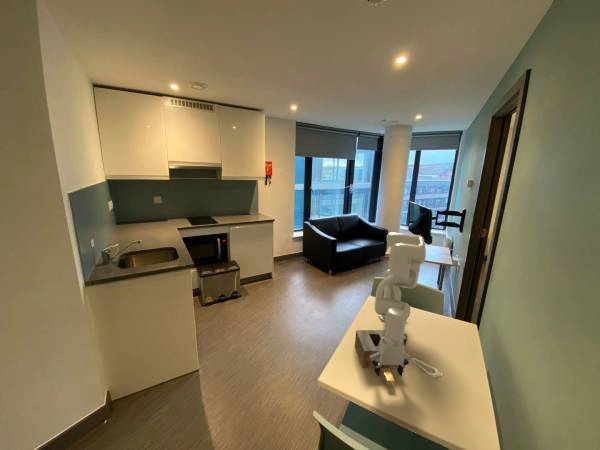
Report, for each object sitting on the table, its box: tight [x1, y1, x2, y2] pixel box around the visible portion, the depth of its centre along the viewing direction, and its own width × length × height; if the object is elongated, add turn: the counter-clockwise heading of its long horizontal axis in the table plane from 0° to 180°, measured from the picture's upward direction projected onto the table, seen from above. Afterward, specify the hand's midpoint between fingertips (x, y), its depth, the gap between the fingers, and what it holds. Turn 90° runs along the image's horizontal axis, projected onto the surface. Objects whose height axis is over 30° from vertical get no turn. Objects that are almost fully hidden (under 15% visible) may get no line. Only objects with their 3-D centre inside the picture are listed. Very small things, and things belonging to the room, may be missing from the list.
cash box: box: [354, 329, 398, 369], centre depth 115 cm, size 16×14×9 cm
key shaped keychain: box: [411, 357, 443, 378], centre depth 109 cm, size 13×5×2 cm, turn 46°
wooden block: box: [380, 368, 395, 388], centre depth 102 cm, size 3×6×4 cm, turn 2°
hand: (388, 373), depth 101 cm, fingers open, 9 cm apart
